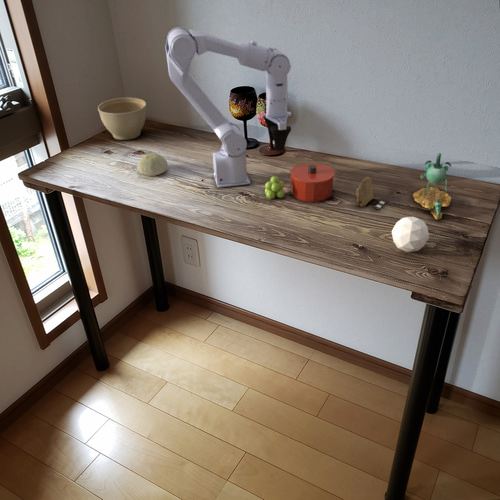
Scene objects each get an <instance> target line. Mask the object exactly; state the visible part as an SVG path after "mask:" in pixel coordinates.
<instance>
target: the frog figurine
mask: <svg viewBox="0 0 500 500" xmlns="http://www.w3.org/2000/svg"><path fill="white" fill-rule="evenodd" d="M441 158H442V153H441V152H439V153H437V154H436V158H435V159H436V160H435V163H432V160H427V161H425V162H424V166H425V171H424V173H423V174H420V176H419V177H420V179H421V180H422V179H423V178H424V177H425V178H426V180H427V182H428V183H427V185H426V187H422V188H421V189H419V190H417V191H415V192H413V193H412V197H413V199H414V201H415V202H416V203H418V204H420V205H421V207H423V208H425V209H428V210H431V211H430V214H432V216H433V217H434V218H435V220H440V219H442V218H443V217H442V215H443V214H444V213H443V212H442V211H441V210H442V208H444V207H445V208H447V207H449V206H450V204H451V200H452V196H450V195H449V193H447V190H448V189H447V185H448V184H447V183H448V180H447V172H448V171H449V168H450V167H452V164H451V163H450V162H449V161H446V162H445V163H444V164H445V165H444V164H443V163H441ZM444 181H445V188H444V191H443V190H440V189H439V188H438V185H440V184H442V183H443V182H444ZM430 184H432V185H434V187H433V186H430Z"/></svg>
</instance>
